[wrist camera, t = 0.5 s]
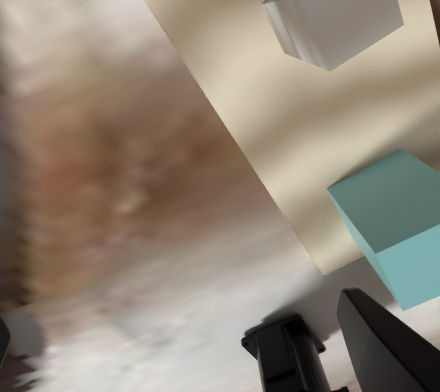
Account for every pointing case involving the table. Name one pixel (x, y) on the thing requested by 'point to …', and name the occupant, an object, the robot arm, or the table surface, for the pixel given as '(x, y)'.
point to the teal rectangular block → (396, 223)
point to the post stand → (314, 94)
